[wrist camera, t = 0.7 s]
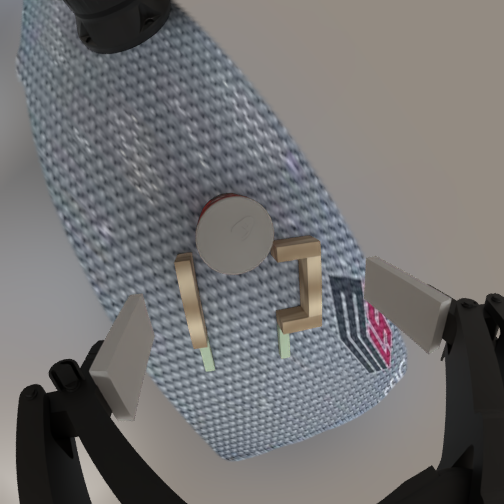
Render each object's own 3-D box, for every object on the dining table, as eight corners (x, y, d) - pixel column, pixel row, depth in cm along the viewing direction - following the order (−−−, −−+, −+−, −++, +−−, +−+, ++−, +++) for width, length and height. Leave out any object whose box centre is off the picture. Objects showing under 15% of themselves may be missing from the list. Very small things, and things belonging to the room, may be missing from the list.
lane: (177, 254, 37) (174, 262, 33) (309, 235, 39) (320, 241, 35) (194, 334, 40) (193, 349, 36) (312, 314, 42) (321, 326, 39)
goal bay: (198, 336, 40) (198, 342, 39) (286, 322, 42) (288, 327, 41) (205, 366, 42) (205, 371, 40) (287, 352, 44) (290, 357, 42)
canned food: (265, 206, 37) (287, 216, 27) (240, 258, 38) (253, 287, 28) (214, 183, 35) (216, 182, 25) (190, 237, 36) (182, 258, 26)
